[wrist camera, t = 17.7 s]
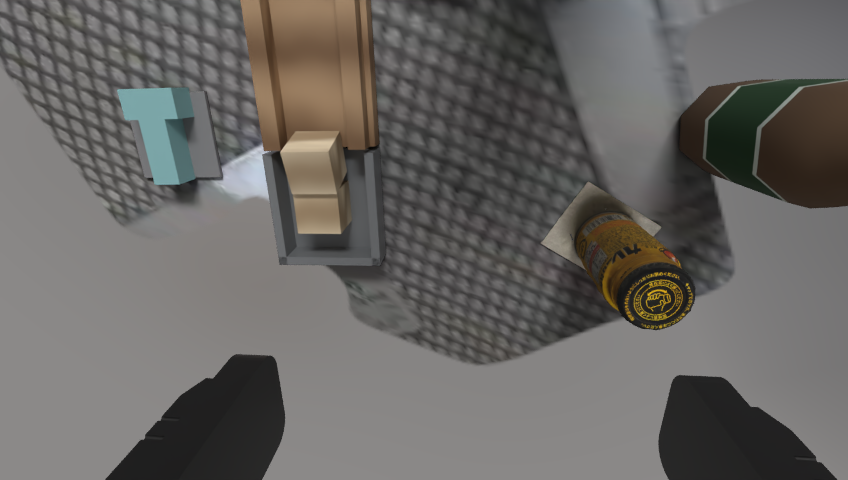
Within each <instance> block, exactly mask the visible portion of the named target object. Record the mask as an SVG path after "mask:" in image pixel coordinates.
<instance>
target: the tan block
mask: <svg viewBox="0 0 848 480" xmlns="http://www.w3.org/2000/svg"><path fill="white" fill-rule="evenodd" d="M293 198H294V206H295V213H296V221H297V228H298V233H299V234H341V233H342V232H343V231H344V230H345V228H346V227H347V226H348V225H349V223H350V222H351V221H352V215H351V204H350V192H349V181H343V182H342V184H341V186H340V189H339V191H338V193H337V194H293Z"/></svg>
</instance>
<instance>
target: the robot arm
mask: <svg viewBox="0 0 848 480" xmlns="http://www.w3.org/2000/svg"><path fill="white" fill-rule="evenodd" d="M284 425H285V411H284V405H283V399H282V394H281V387H280V381H279V375H278V369H277V363H276V361H275V359H274V357H272V356H265V355H242V354H236V355H234V356H232V357H231V358H230V359H229V360H228V362H227V363H226V364H225V365H224V366H223V367H222V369H221V370H220V371H219V372H218V374H217V375H216V376H215V377H214V378H213V379H210V378H206V379H204V380H203V381H201V382H200V383H198V384H197V385H195V386H194V387H192V388H191V389H189V390H188V391H186V392H185V393H183V394H182V395H181V396H180V397H179V398H178V399H177V400H176V401H175V402H174V403H173V405H172V406H171V407H170V408H169V409H168V410H167V411H166V412H165V413H164V415H163V416H162V419H161V421H157V423H155V425H154V426H153V427H152V428H151V429H150V430H149V431H148V432H147V434H146V435H145V439H144V440H140V441H139V442H138V444H137V445H136V446H135V447H134V448H133V449H132V450H131V451H130V453H129V454H128V455H127V456H126V457H125V458H124V459H123V460H122V461H121V463H120V464H119V465H118V466H117V467H116V468H115V469H114V470H113V471H112V473H111V474H110V475H109V476H108V477H107V478H106V480H262V478H263V477H264V475H265V472H266V471H267V469H268V467H269V465H270V463H271V461H272V459H273V457H274V455H275V453H276V451H277V448H278V447H279V444H280V442H281V439H282V436H283V432H284ZM659 453H660V458H661V462H662V465H663V468H664V471H665V473H666V475H667V477H668V479H669V480H837V479H836V478H835V477H834V476H833V475H832V474H831V472H830V471H829V470H827V468H826V467H825V466H824V465H823V464H822V463H820V462H817V461H816V456H815V455H814V454H813V453H812V452H811V451H810V450H809V449H808V448H807V447H806V446H805V445H804V444H803V442H802V441H800V439H799V438H798V437H797V436H796V435H795V434H794V433H793V432H792V431H791V430H790V429H789V428H787V427H786V426H784V425H783V424H782V423H780V422H779V421H777V420H776V419H774V418H773V417H771V416H770V415H768V414H767V413H766V412H764V411H763V410H761V409H760V408H758V407H750V406H749V404H748V403H747V402H746V401H745V400H744V399H743V398H742V396H741V395H740V394H739V393H738V392H737V391H736V390H735V388H734V387H733V386H732V385H731V384H730V383H729V382H728V381H727V380H725V379H724V378H722V377H708V376H707V377H706V376H685V375H684V376H683V375H679V376H676V377H675V378H674V379H673V382H672V384H671V388H670V392H669V397H668V401H667V405H666V409H665V413H664V417H663V421H662V425H661V430H660V434H659Z"/></svg>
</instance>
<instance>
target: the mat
mask: <svg viewBox="0 0 848 480" xmlns="http://www.w3.org/2000/svg"><path fill="white" fill-rule="evenodd" d="M189 93H190V98H191V102H192V107H193V112H194V117H189V118H182V119H183V124H184V128H185V133H186V138H187V142H188V147H189V151H190V156H191V160H192V165H193V169H194V174H195V177H223V174H222V169H221V164H220V159H219V154H218V149H217V143H216V138H215V133H214V128H213V123H212V118H211V112H210V107H209V102H208V97H207V92H206V91H196V92H189ZM130 122H131V126H132V130H133V134H134V138H135V141H136V145H137V149H138V153H139V157H140V161H141V165H142V168H143V172H144V176H145V178H153V176H152V172H151V168H150V164H149V160H148V156H147V152H146V148H145V144H144V140H143V136H142V132H141V128H140V125H139V121H138V120H130Z"/></svg>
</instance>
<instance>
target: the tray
mask: <svg viewBox="0 0 848 480" xmlns="http://www.w3.org/2000/svg"><path fill="white" fill-rule="evenodd" d="M343 151H344V157H345V162H346V168H347V173H346V175H345V177H344V179H343V181H349V192H350V204H351V215H352V221H351V222H350V223H349V225H348V226H347V227H346V228H345V230H344V231H343V232H342V233H341V234H299V233H298V228H297V221H296V213H295V206H294V198H293V194H292V192H291V189H290V185H289V182H288V178H287V175H286V171H285V168H284V164H283V161H282V157H281V154H280V152H281V151H271V152H268V153H265V154H262V156H263V162H264V168H265V175H266V181H267V187H268V194H269V200H270V206H271V213H272V219H273V225H274V232H275V238H276V244H277V250H278V257H279V263H280V265H282V264H283V265H355V266H381V264H382V261H383V259H384V257H385V255H386V242H385V226H384V209H383V193H382V177H381V161H380V148H367V149H365V150H348V148H343Z"/></svg>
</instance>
